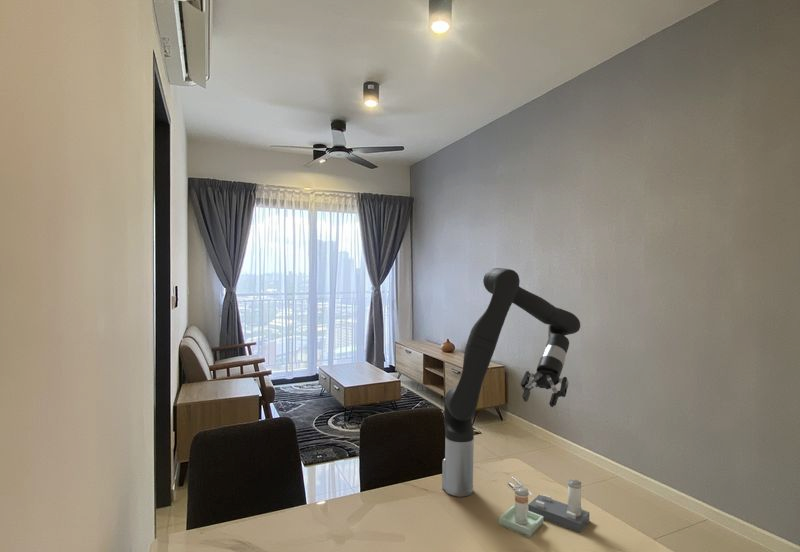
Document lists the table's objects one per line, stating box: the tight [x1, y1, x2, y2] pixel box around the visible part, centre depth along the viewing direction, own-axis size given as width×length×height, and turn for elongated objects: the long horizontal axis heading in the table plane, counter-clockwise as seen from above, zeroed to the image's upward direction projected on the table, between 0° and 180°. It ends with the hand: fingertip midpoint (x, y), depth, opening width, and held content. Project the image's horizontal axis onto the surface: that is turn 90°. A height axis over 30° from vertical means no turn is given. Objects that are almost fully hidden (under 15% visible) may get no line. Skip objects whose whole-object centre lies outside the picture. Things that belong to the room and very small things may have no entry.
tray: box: [498, 504, 545, 538], centre depth 121 cm, size 9×9×2 cm
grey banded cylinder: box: [514, 486, 529, 525], centre depth 121 cm, size 4×4×9 cm
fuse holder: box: [528, 493, 590, 534], centre depth 125 cm, size 15×8×4 cm, turn 50°
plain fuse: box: [567, 478, 582, 517], centre depth 122 cm, size 4×4×9 cm
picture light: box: [507, 476, 533, 497], centre depth 144 cm, size 14×4×2 cm, turn 13°
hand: (537, 402), depth 135 cm, fingers open, 8 cm apart
